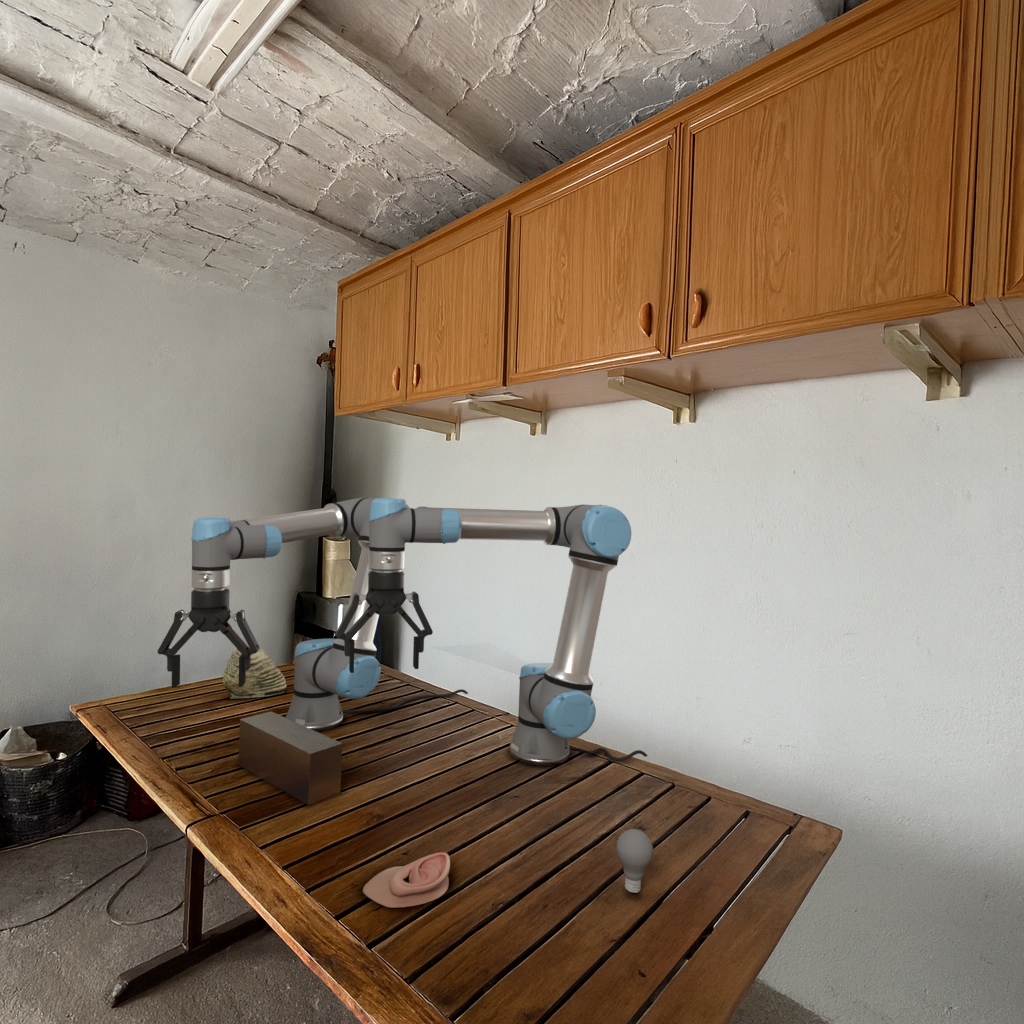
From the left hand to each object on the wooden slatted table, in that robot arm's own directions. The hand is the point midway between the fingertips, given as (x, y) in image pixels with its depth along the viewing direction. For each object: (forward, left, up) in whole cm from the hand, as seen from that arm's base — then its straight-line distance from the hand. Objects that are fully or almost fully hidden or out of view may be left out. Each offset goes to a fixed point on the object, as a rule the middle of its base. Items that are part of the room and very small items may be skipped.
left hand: (209, 685), depth 138 cm
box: (-13, +11, -21) cm, 27 cm away
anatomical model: (-4, +61, -21) cm, 64 cm away
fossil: (-38, -48, -21) cm, 65 cm away
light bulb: (-29, +89, -21) cm, 96 cm away
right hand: (-22, +32, +6) cm, 39 cm away
